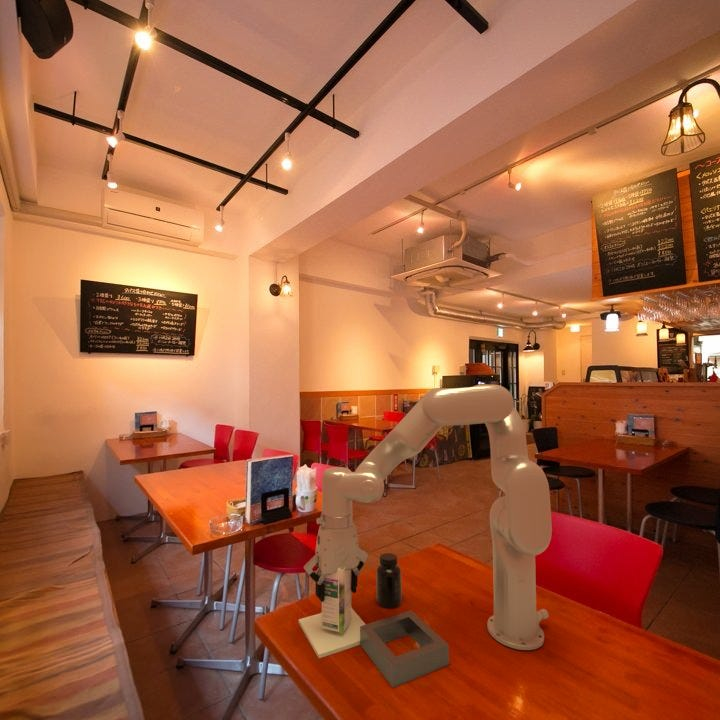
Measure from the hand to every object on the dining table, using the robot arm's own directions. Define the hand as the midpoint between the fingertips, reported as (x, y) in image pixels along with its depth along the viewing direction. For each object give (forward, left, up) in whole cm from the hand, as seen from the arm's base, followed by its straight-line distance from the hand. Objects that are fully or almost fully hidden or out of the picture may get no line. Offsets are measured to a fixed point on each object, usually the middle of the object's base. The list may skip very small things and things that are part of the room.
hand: (336, 594), depth 93 cm
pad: (0, 0, -9) cm, 9 cm away
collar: (-10, +14, -9) cm, 19 cm away
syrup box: (0, 0, -7) cm, 7 cm away
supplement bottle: (-18, -5, -9) cm, 21 cm away
